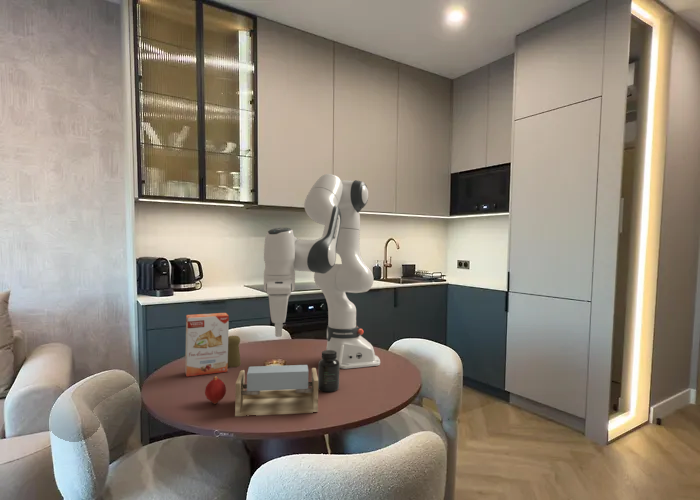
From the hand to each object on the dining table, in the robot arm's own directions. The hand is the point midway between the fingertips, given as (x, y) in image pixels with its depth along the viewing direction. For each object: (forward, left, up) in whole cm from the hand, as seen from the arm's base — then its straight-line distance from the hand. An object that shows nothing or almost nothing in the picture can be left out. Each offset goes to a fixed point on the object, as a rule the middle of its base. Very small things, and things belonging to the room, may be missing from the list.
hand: (279, 332), depth 113 cm
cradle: (0, 0, -22) cm, 22 cm away
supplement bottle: (-16, -12, -22) cm, 29 cm away
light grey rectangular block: (0, 0, -16) cm, 16 cm away
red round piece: (+18, -4, -22) cm, 29 cm away
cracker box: (+26, -32, -22) cm, 47 cm away
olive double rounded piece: (+18, -40, -22) cm, 49 cm away
